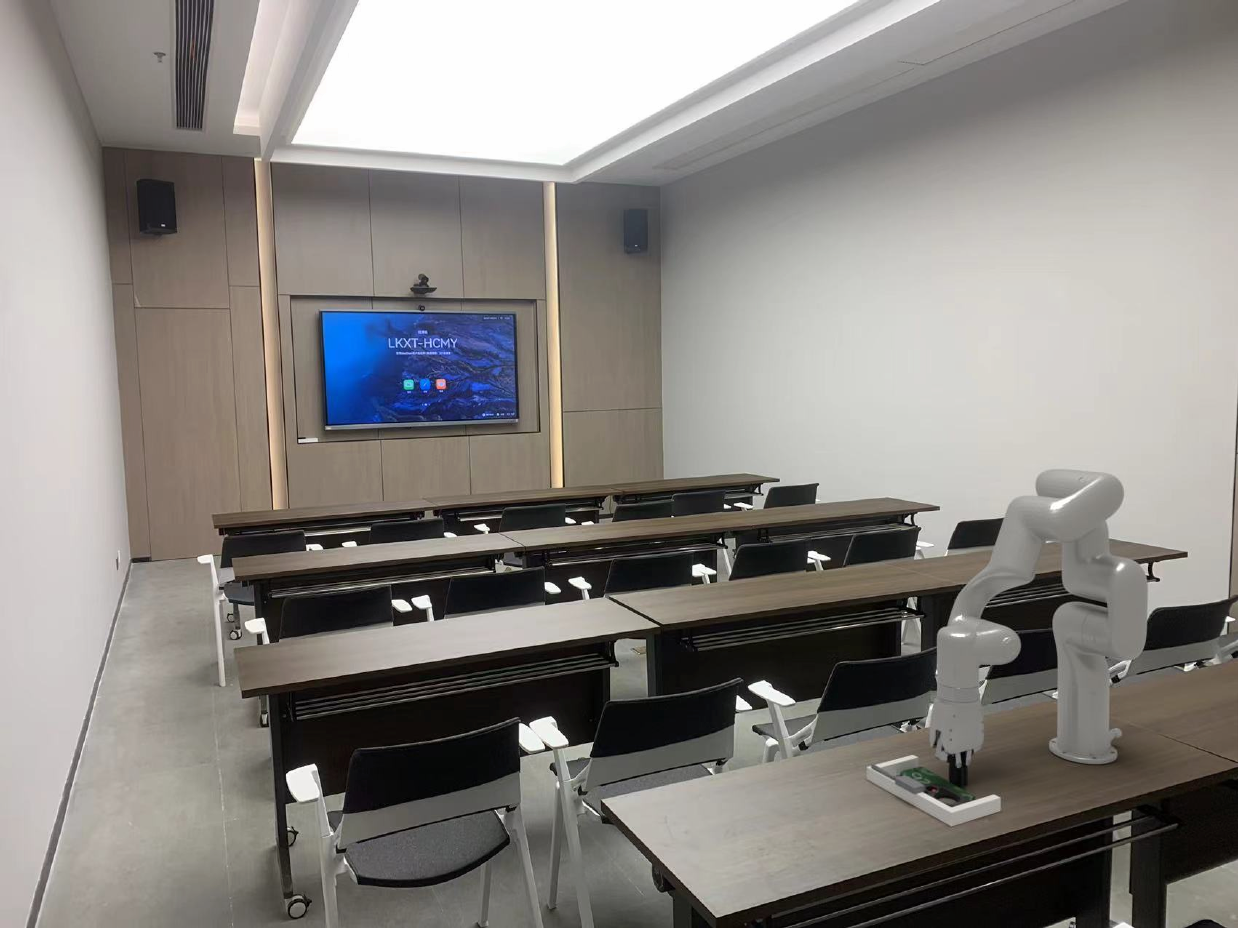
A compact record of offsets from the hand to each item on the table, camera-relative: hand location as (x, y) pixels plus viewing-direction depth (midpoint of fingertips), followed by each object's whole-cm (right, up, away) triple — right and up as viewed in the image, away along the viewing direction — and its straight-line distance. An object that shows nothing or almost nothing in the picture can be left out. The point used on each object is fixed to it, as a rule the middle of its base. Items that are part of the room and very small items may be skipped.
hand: (958, 783), depth 172 cm
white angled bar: (-7, -1, -3) cm, 7 cm away
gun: (-6, -2, -1) cm, 6 cm away
